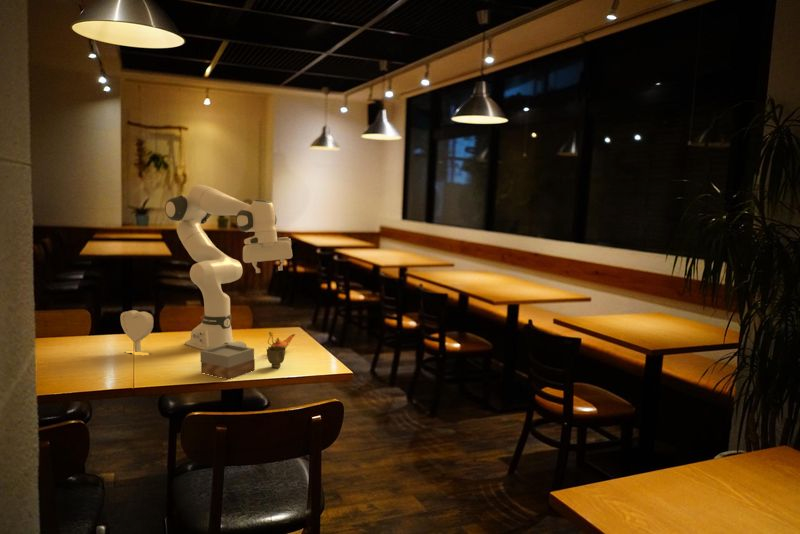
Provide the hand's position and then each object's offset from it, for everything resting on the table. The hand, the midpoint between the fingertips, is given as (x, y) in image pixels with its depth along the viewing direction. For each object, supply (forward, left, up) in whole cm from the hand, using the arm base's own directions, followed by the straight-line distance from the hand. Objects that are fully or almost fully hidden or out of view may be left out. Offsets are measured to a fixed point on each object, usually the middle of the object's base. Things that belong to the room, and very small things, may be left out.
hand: (269, 271), depth 248 cm
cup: (+11, -9, -37) cm, 40 cm away
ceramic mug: (-12, -9, -37) cm, 40 cm away
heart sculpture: (-51, -25, -37) cm, 68 cm away
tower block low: (0, -24, -37) cm, 44 cm away
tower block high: (0, -24, -32) cm, 40 cm away
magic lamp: (-1, +9, -37) cm, 38 cm away
